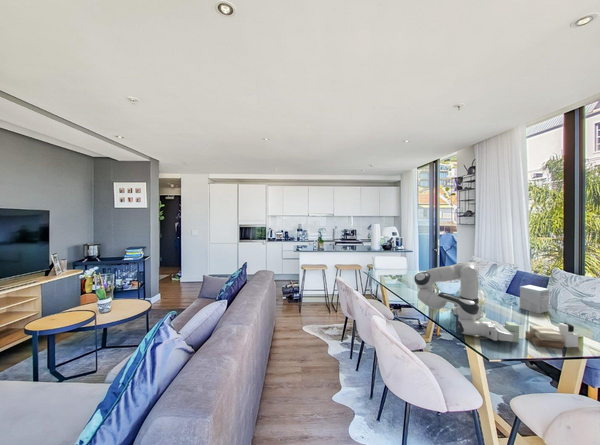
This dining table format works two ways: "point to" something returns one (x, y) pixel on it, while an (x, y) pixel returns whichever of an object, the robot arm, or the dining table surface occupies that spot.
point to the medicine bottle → (568, 335)
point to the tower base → (544, 342)
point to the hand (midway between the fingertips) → (513, 331)
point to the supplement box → (534, 298)
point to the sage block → (513, 327)
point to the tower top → (545, 333)
